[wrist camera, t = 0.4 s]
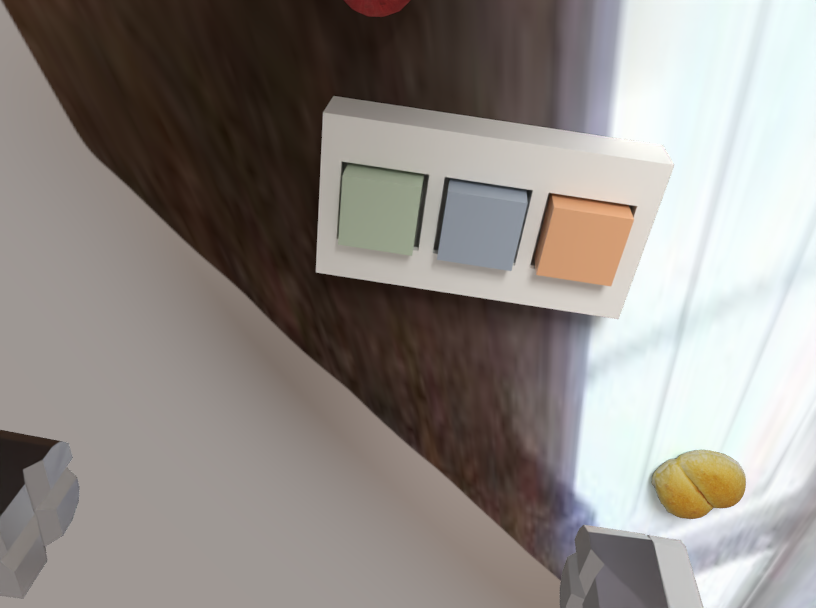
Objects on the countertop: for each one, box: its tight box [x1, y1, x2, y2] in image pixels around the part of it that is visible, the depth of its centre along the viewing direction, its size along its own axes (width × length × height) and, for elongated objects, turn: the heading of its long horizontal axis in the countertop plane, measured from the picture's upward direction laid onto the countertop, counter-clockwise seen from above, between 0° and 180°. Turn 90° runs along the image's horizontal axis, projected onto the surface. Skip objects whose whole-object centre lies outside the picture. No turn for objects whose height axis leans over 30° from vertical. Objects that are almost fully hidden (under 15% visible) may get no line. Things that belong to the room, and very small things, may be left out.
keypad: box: [316, 96, 674, 319], centre depth 55 cm, size 14×26×4 cm, turn 83°
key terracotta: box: [534, 193, 634, 286], centre depth 54 cm, size 6×6×3 cm
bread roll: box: [652, 450, 746, 519], centre depth 71 cm, size 8×9×4 cm
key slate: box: [437, 178, 528, 271], centre depth 54 cm, size 6×6×3 cm
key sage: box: [338, 162, 424, 256], centre depth 54 cm, size 6×6×3 cm
